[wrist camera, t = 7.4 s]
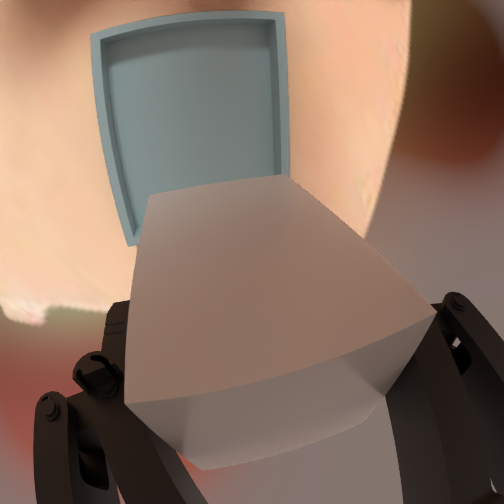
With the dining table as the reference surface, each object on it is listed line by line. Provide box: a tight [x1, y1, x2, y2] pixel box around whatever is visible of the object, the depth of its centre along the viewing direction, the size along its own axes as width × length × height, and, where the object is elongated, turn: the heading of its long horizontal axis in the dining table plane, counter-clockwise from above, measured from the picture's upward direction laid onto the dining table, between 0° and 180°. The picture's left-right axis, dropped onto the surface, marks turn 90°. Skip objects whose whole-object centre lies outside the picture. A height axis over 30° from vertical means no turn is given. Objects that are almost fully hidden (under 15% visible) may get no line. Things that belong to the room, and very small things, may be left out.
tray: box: [91, 10, 290, 247], centre depth 20 cm, size 16×20×3 cm
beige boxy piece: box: [124, 174, 437, 470], centre depth 9 cm, size 6×6×9 cm
